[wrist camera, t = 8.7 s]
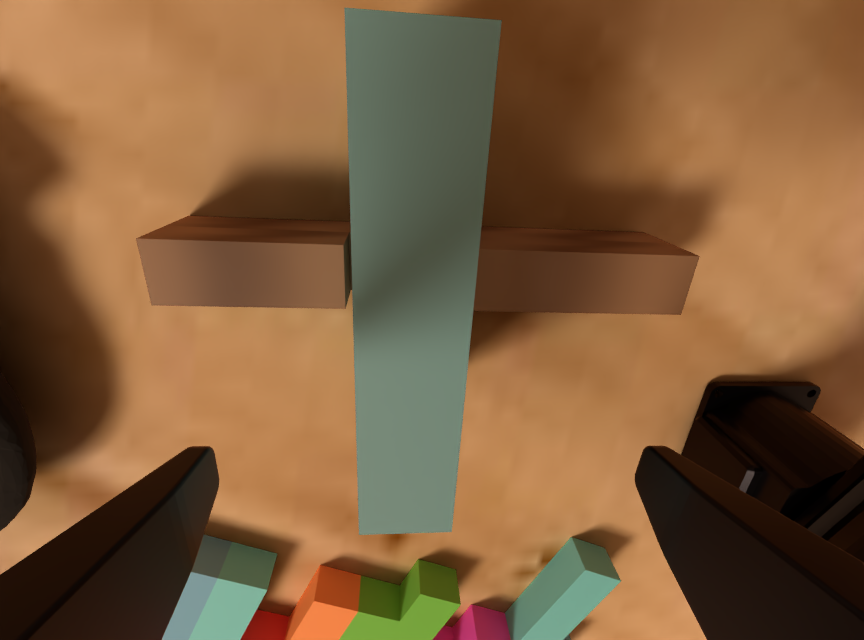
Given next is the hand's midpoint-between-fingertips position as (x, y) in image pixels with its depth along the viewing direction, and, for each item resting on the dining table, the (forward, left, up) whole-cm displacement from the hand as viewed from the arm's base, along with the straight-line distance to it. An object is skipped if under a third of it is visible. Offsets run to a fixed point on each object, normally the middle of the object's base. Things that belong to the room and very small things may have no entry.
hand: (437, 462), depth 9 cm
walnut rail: (0, -1, -12) cm, 12 cm away
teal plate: (0, -1, -12) cm, 12 cm away
